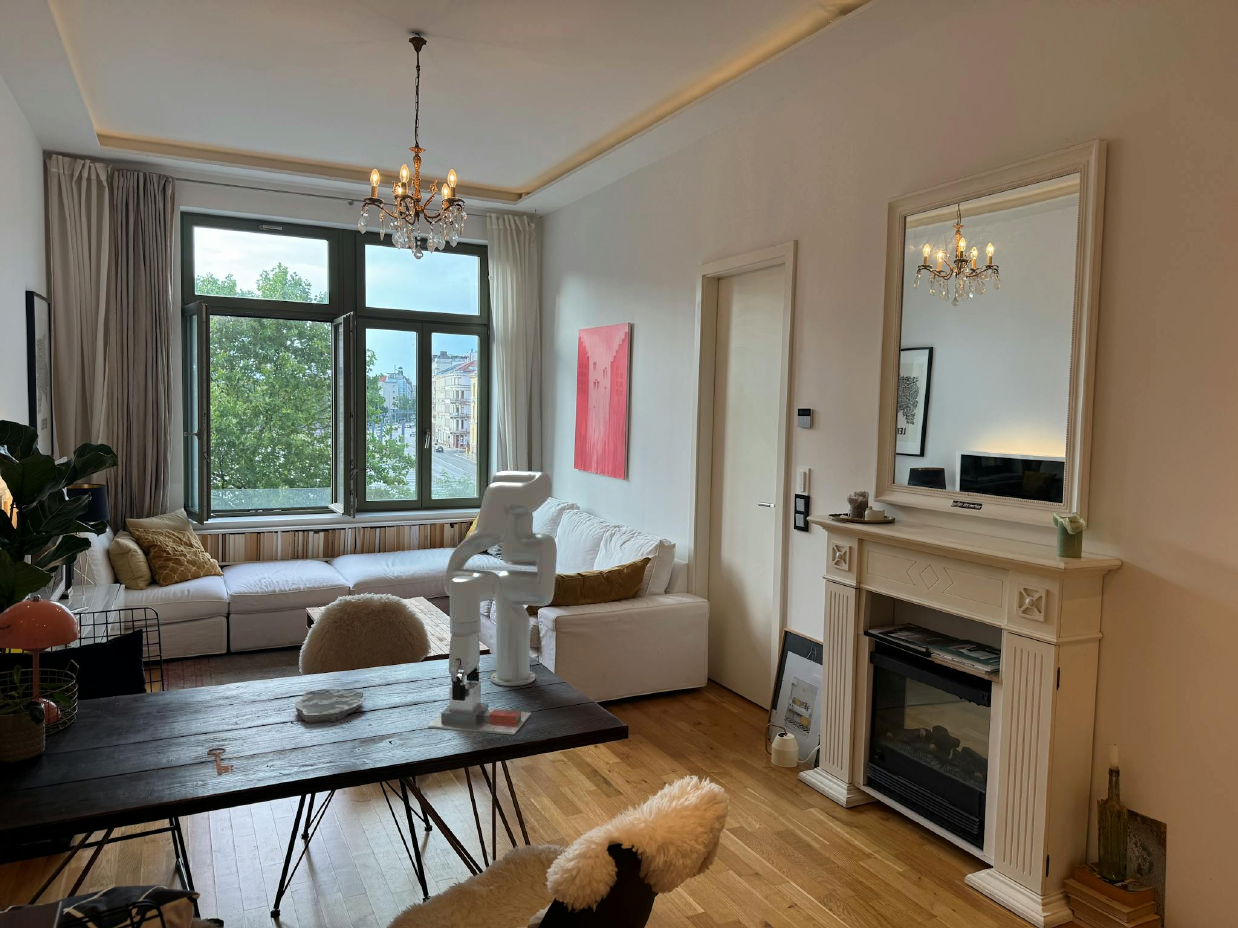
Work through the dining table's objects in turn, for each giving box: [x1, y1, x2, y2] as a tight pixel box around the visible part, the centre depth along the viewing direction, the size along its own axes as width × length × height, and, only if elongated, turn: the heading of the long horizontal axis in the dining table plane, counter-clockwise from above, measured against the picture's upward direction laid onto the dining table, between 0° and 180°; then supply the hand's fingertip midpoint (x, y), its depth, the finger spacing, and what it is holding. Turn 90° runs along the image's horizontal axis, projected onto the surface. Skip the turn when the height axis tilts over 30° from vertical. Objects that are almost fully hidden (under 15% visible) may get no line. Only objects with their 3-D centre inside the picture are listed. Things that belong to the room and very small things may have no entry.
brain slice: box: [294, 688, 367, 724], centre depth 223 cm, size 20×17×3 cm
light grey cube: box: [448, 679, 482, 713], centre depth 218 cm, size 6×6×6 cm
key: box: [207, 747, 234, 776], centre depth 192 cm, size 6×1×15 cm
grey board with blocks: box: [427, 702, 532, 736], centre depth 217 cm, size 14×22×7 cm, turn 79°
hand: (466, 693), depth 218 cm, fingers open, 9 cm apart
